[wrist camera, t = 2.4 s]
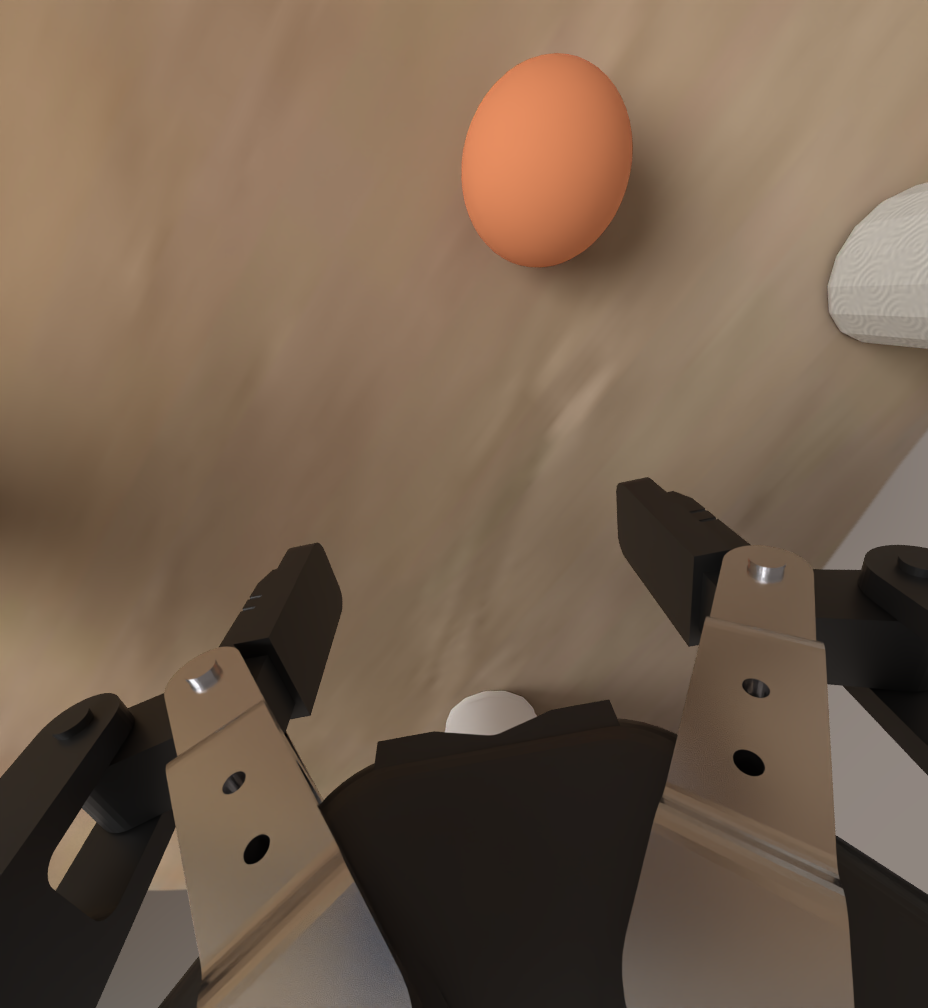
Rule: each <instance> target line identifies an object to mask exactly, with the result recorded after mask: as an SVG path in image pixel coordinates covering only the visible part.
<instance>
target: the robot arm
mask: <svg viewBox="0 0 928 1008" xmlns="http://www.w3.org/2000/svg"><path fill="white" fill-rule="evenodd" d="M616 496H617V523H618V539H619V544H620V547H621V550H622V552H623V555H624V556H625V558H626V559H627V561H628V562H629V564H630V565H631V566H632V568H633V569H634V571H635V572H636V573H637V575H638V576H639V578H640V579H641V580H642V582H643V583H644V585H645V586H646V587H647V589H648V590H649V592H650V593H651V594H652V596H653V597H654V599H655V600H656V601H657V603H658V604H659V606H660V607H661V608H662V610H663V611H664V613H665V614H666V615H667V617H668V618H669V620H670V621H671V622H672V624H673V625H674V627H675V628H676V629H677V631H678V632H679V634H680V635H681V636H682V638H683V639H684V641H685V642H686V643H687V645H688V646H689V647H690V646H695V645H699V647H698V651H697V656H696V660H695V664H694V668H693V672H692V677H691V681H690V685H689V689H688V693H687V698H686V702H685V706H684V710H683V714H682V719H681V723H680V727H679V731H678V735H677V734H675V733H673V732H670V731H668V730H665V729H663V728H660V727H658V726H654V725H650V724H647V723H643V722H639V721H633V720H627V719H617V717H616V715H615V712H614V710H613V708H612V705H611V703H610V700H604V701H598V702H593V703H587V704H582V705H576V706H571V707H565V708H560V709H555V710H550V711H548V712H546V713H544V714H542V715H539V716H537V717H535V718H533V719H530V720H528V721H526V722H524V723H522V724H519V725H517V726H515V727H513V728H510V729H508V730H506V731H504V732H502V733H499V734H496V735H476V734H462V733H447V732H429V733H423V734H418V735H412V736H407V737H401V738H396V739H390V740H385V741H379V742H378V744H377V751H376V759H375V763H374V764H372V765H370V766H368V767H366V768H364V769H363V770H361V771H359V772H357V773H356V774H354V775H353V776H352V777H350V778H349V779H347V780H346V781H345V782H343V783H342V784H341V785H340V786H338V787H337V788H336V789H335V790H334V791H333V792H332V793H330V794H329V795H328V796H327V797H326V798H325V800H323V798H322V796H321V794H320V793H319V791H318V789H317V787H316V785H315V783H314V781H313V780H312V778H311V776H310V774H309V772H308V770H307V768H306V766H305V765H304V763H303V761H302V759H301V757H300V755H299V753H298V752H297V750H296V748H295V746H294V744H293V742H292V740H291V738H290V737H289V735H288V733H287V732H286V729H287V726H288V723H289V720H290V719H295V718H300V717H305V716H310V715H311V712H312V709H313V705H314V702H315V699H316V695H317V692H318V689H319V685H320V682H321V679H322V675H323V672H324V669H325V665H326V662H327V659H328V655H329V652H330V649H331V645H332V642H333V639H334V635H335V632H336V629H337V625H338V622H339V619H340V615H341V612H342V595H341V591H340V588H339V585H338V583H337V580H336V578H335V575H334V573H333V570H332V568H331V565H330V563H329V560H328V558H327V556H326V553H325V551H324V549H323V547H322V546H321V544H319V543H314V544H309V545H304V546H299V547H294V548H290V549H289V550H288V551H287V553H286V554H285V556H284V558H283V559H282V561H281V563H280V565H279V566H278V568H277V569H275V570H272V571H271V572H270V573H269V574H268V575H267V576H266V577H265V578H264V579H262V580H261V581H260V582H259V583H258V584H257V586H256V588H255V589H254V591H253V593H252V594H251V596H250V600H248V601H247V602H246V604H245V606H244V607H243V611H241V612H240V614H239V615H238V617H237V619H236V620H235V622H234V623H233V625H232V627H231V628H230V630H229V631H228V633H227V635H226V636H225V638H224V640H223V641H222V643H221V644H220V646H219V648H215V649H212V650H209V651H207V652H204V653H202V654H200V655H198V656H197V657H195V658H193V659H192V660H190V661H189V662H188V663H186V664H185V665H184V666H182V667H181V668H180V669H179V670H178V671H177V672H176V673H175V674H174V675H173V677H172V678H171V679H170V681H169V682H168V684H167V686H166V688H165V692H164V693H163V694H161V695H159V696H156V697H154V698H151V699H149V700H147V701H144V702H142V703H139V704H137V705H135V706H132V707H130V708H127V707H126V706H125V705H124V703H123V702H122V701H121V700H120V698H119V697H118V696H117V695H115V694H112V693H104V694H99V695H96V696H92V697H90V698H87V699H85V700H83V701H81V702H79V703H77V704H75V705H73V706H72V707H70V708H69V709H67V710H65V711H64V712H62V713H61V714H60V715H58V716H57V717H56V718H54V719H53V720H52V721H51V722H50V723H48V724H47V725H46V726H45V727H44V728H43V729H42V730H41V731H40V732H39V733H38V735H37V736H36V737H35V738H34V739H33V740H32V742H31V743H30V744H29V745H28V746H27V747H26V749H25V750H24V751H23V752H22V753H21V754H20V756H19V757H18V758H17V759H16V760H15V761H14V763H13V764H12V765H11V766H10V767H9V768H8V770H7V771H6V772H5V773H4V774H3V775H2V777H1V778H0V1008H96V1006H97V1004H98V1001H99V999H100V997H101V994H102V992H103V990H104V988H105V985H106V983H107V981H108V979H109V976H110V974H111V972H112V969H113V967H114V965H115V963H116V961H117V958H118V956H119V953H120V951H121V949H122V947H123V945H124V942H125V940H126V938H127V936H128V933H129V931H130V929H131V927H132V924H133V922H134V920H135V917H136V915H137V913H138V911H139V909H140V906H141V904H142V901H143V899H144V897H145V895H146V893H147V890H148V888H149V886H150V884H151V881H152V879H153V877H154V875H155V872H156V870H157V868H158V866H159V863H160V861H161V859H162V856H163V854H164V852H165V850H166V847H167V845H168V843H169V841H170V838H171V836H172V834H173V832H174V829H175V827H176V831H177V837H178V842H179V848H180V853H181V859H182V864H183V870H184V875H185V881H186V886H187V892H188V898H189V903H190V908H191V914H192V920H193V924H194V931H195V936H196V942H197V947H198V952H199V957H198V958H197V959H196V960H195V962H194V963H193V964H192V965H191V967H190V968H189V969H188V970H187V972H186V973H185V974H184V976H183V977H182V978H181V979H180V981H179V982H178V983H177V984H176V986H175V987H174V988H173V989H172V991H171V992H170V993H169V995H168V996H167V997H166V998H165V999H164V1001H163V1002H162V1003H161V1005H160V1006H159V1007H158V1008H928V894H926V893H925V892H923V891H922V890H920V889H918V888H917V887H915V886H914V885H912V884H911V883H909V882H907V881H906V880H904V879H903V878H901V877H900V876H898V875H897V874H895V873H893V872H892V871H890V870H889V869H887V868H886V867H884V866H883V865H881V864H880V863H878V862H877V861H875V860H874V859H872V858H870V857H869V856H867V855H866V854H864V853H863V852H861V851H859V850H858V849H857V848H855V847H853V846H852V845H850V844H849V843H847V842H846V841H844V840H843V839H841V838H839V837H838V836H836V835H835V818H834V801H833V782H832V763H831V746H830V727H829V709H828V691H827V684H831V685H842V686H843V687H844V688H845V689H846V690H847V691H848V692H849V693H850V694H851V695H852V696H853V697H854V698H855V699H856V700H857V701H858V702H859V703H860V704H861V705H862V706H863V708H864V709H865V710H866V711H867V712H868V713H869V714H870V715H871V716H872V717H873V718H874V719H875V720H876V721H877V722H878V723H879V724H880V725H881V726H882V728H883V729H884V730H885V731H886V732H887V733H888V734H889V735H890V736H891V737H892V738H893V739H894V740H895V741H896V742H897V743H898V744H899V746H900V747H901V748H902V749H904V751H905V752H906V753H907V754H908V755H909V756H910V757H911V758H912V759H913V760H914V761H915V762H916V763H917V765H918V766H919V767H920V768H921V769H922V770H923V771H924V772H925V773H926V774H927V775H928V548H922V547H916V546H907V545H889V546H881V547H877V548H874V549H872V550H870V551H869V552H867V554H866V555H865V558H864V562H863V566H862V569H861V570H818V569H812V567H811V565H810V564H809V563H808V562H807V561H805V560H804V559H803V558H801V557H800V556H798V555H796V554H794V553H792V552H789V551H787V550H784V549H780V548H776V547H771V546H762V545H750V544H749V543H747V542H746V541H745V540H744V539H742V538H741V537H740V536H739V535H737V534H736V533H735V532H734V531H732V530H731V529H730V528H729V527H727V526H726V525H725V524H724V523H722V522H721V521H720V520H719V519H716V518H715V516H714V515H712V514H711V513H710V512H709V511H705V508H704V507H702V506H701V505H700V504H699V503H697V502H696V501H695V500H694V499H692V498H690V497H687V496H685V495H682V494H679V493H677V492H674V491H671V492H666V491H664V490H663V489H662V488H661V487H660V486H659V485H657V484H656V483H655V482H654V481H653V480H652V479H650V478H648V477H647V478H642V479H637V480H632V481H627V482H622V483H619V484H618V485H617V490H616ZM81 808H82V809H83V810H85V811H86V812H87V813H88V814H89V815H90V816H91V817H92V818H93V819H94V820H95V821H96V824H95V826H94V827H93V829H92V831H91V833H90V834H89V836H88V838H87V839H86V841H85V843H84V844H83V846H82V848H81V849H80V851H79V853H78V854H77V856H76V858H75V859H74V861H73V863H72V864H71V866H70V868H69V869H68V871H67V873H66V874H65V876H64V878H63V879H62V881H61V883H60V884H59V886H58V888H57V889H56V891H55V890H54V889H52V887H51V886H50V884H49V881H48V866H49V862H50V859H51V856H52V854H53V852H54V850H55V849H56V847H57V845H58V844H59V842H60V841H61V839H62V838H63V836H64V834H65V833H66V831H67V830H68V828H69V827H70V825H71V824H72V822H73V820H74V819H75V817H76V816H77V814H78V813H79V811H80V810H81Z"/></svg>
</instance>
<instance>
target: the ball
mask: <svg viewBox="0 0 928 1008" xmlns="http://www.w3.org/2000/svg"><path fill="white" fill-rule="evenodd" d="M632 150H633V146H632V132H631V126H630V121H629V117H628V114H627V110H626V107H625V105H624V102H623V100H622V98H621V96H620V94H619V92H618V91H617V89H616V87H615V86H614V84H613V83H612V82H611V80H610V79H609V78H608V77H607V76H606V75H605V74H604V73H603V72H602V71H601V70H600V69H599V68H598V67H596V66H595V65H593V64H592V63H590V62H589V61H587V60H584V59H582V58H580V57H577V56H573V55H569V54H559V53H554V54H546V55H540V56H537V57H534V58H530V59H528V60H526V61H524V62H522V63H520V64H518V65H517V66H515V67H514V68H512V69H511V70H509V71H508V72H507V73H506V74H505V75H504V76H503V77H501V78H500V79H499V80H498V81H497V82H496V83H495V84H494V85H493V87H492V88H491V89H490V90H489V91H488V93H487V94H486V95H485V97H484V99H483V100H482V102H481V103H480V105H479V107H478V109H477V111H476V113H475V115H474V117H473V119H472V122H471V124H470V127H469V130H468V133H467V136H466V140H465V145H464V149H463V158H462V188H463V195H464V200H465V205H466V208H467V211H468V214H469V217H470V219H471V221H472V223H473V225H474V227H475V229H476V231H477V232H478V234H479V236H480V237H481V238H482V239H483V241H484V242H485V243H486V244H487V245H488V246H489V247H490V248H491V249H492V250H493V251H494V252H495V253H497V254H498V255H499V256H501V257H502V258H504V259H506V260H508V261H510V262H512V263H515V264H518V265H521V266H527V267H548V266H553V265H557V264H560V263H563V262H565V261H567V260H570V259H572V258H574V257H575V256H577V255H578V254H580V253H582V252H583V251H584V250H586V249H587V248H588V247H589V246H591V245H592V244H593V243H594V242H595V241H596V240H597V239H598V238H599V237H600V235H601V234H602V233H603V232H604V230H605V229H606V228H607V227H608V225H609V224H610V222H611V221H612V219H613V217H614V216H615V214H616V212H617V210H618V208H619V206H620V204H621V202H622V199H623V196H624V194H625V191H626V188H627V184H628V180H629V176H630V171H631V164H632Z"/></svg>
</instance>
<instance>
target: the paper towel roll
mask: <svg viewBox="0 0 928 1008" xmlns="http://www.w3.org/2000/svg"><path fill="white" fill-rule="evenodd" d="M827 288H828V305H829V313H830V315H831V317H832V318H833V320H834V322H835V323H836V325H837V327H838V328H839V330H840V331H841V332H843V333H845V334H847V335H849V336H851V337H853V338H855V339H857V340H859V341H861V342H866V343H876V344H886V345H896V346H906V347H915V348H925V349H928V183H923V184H919V185H916V186H913V187H911V188H909V189H907V190H905V191H903V192H901V193H899V194H897V195H895V196H893V197H891V198H889V199H887V200H885V201H883V202H881V203H880V204H879V205H878V206H877V207H876V208H875V209H874V210H873V211H871V212H870V213H869V214H868V215H867V216H866V217H865V218H864V219H863V220H862V221H861V222H860V223H859V224H857V225H856V226H855V228H854V229H853V231H852V232H851V234H850V236H849V237H848V239H847V240H846V242H845V243H844V245H843V247H842V248H841V250H840V251H839V253H838V255H837V256H836V259H835V263H834V266H833V269H832V273H831V276H830V280H829V283H828V286H827Z"/></svg>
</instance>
